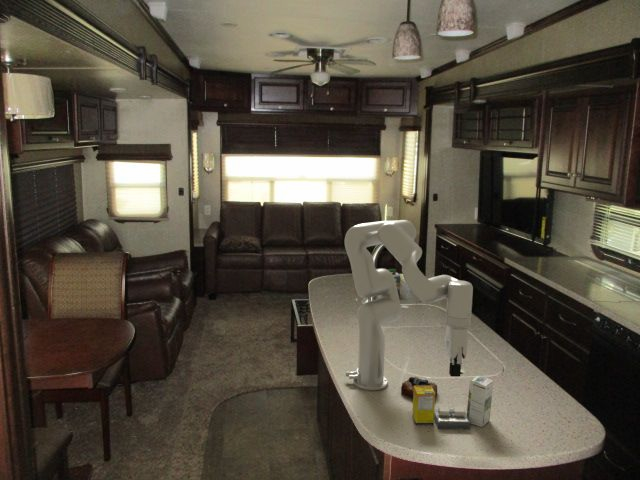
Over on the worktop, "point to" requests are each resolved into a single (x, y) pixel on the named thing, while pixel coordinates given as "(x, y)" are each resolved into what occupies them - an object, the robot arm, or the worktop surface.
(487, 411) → the syrup box
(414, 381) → the pastry
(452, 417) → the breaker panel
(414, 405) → the supplement box
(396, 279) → the chalk box
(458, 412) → the breaker paddles
